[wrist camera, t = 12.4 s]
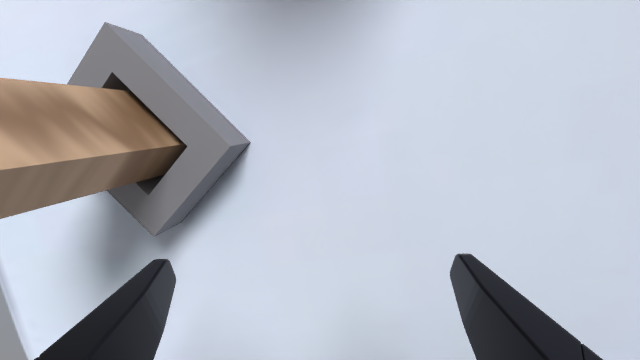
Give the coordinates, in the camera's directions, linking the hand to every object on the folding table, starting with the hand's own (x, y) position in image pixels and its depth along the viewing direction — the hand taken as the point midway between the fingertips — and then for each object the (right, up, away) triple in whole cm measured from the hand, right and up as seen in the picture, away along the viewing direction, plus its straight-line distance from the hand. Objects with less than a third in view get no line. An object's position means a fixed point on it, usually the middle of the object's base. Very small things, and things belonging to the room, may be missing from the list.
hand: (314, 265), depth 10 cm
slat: (-11, +6, +13) cm, 18 cm away
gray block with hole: (-11, +6, +13) cm, 18 cm away
